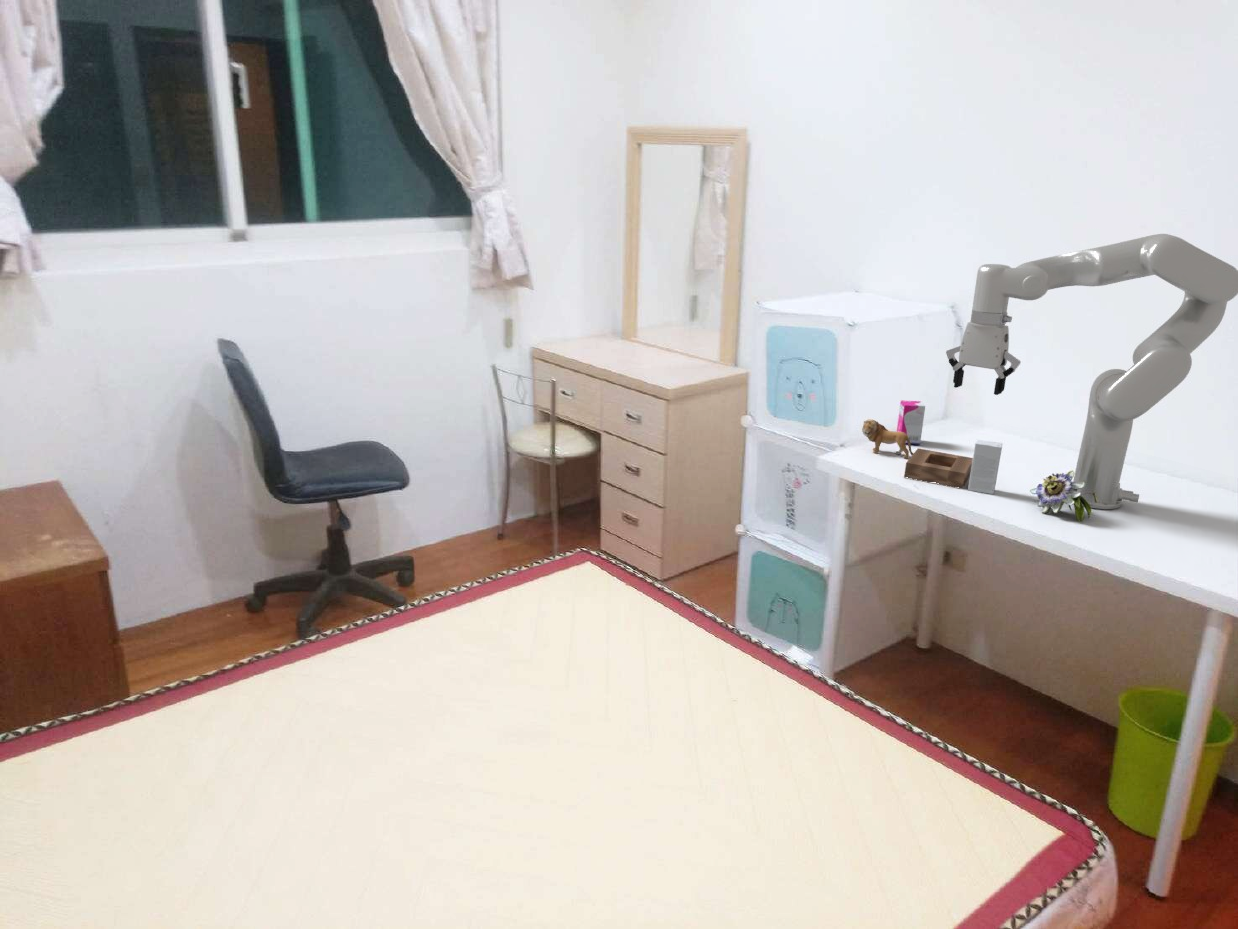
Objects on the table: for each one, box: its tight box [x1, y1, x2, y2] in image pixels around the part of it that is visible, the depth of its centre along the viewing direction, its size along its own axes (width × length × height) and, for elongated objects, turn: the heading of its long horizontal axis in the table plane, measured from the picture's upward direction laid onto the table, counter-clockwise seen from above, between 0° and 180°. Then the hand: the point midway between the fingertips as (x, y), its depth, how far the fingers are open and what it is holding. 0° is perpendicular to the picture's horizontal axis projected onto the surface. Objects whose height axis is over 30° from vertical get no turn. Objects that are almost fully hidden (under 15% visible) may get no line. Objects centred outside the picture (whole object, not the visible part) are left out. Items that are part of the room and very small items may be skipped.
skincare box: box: [967, 439, 1003, 495], centre depth 217 cm, size 6×4×12 cm
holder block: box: [903, 448, 973, 489], centre depth 227 cm, size 14×14×4 cm
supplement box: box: [896, 399, 926, 446], centre depth 252 cm, size 6×6×12 cm
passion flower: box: [1029, 470, 1098, 523], centre depth 205 cm, size 11×11×12 cm
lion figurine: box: [861, 418, 915, 460], centre depth 242 cm, size 15×5×9 cm, turn 70°
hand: (977, 390), depth 215 cm, fingers open, 9 cm apart
